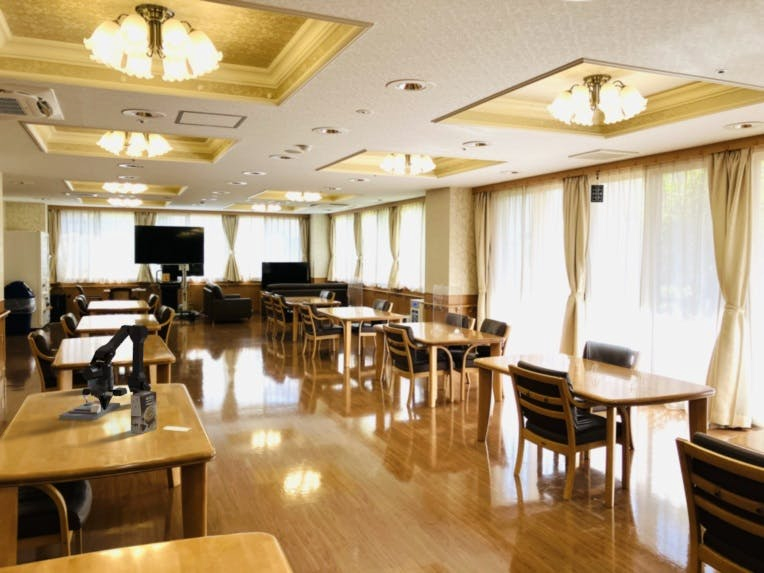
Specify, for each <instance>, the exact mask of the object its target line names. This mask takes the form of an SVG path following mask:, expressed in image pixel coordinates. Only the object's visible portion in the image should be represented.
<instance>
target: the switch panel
mask: <svg viewBox="0 0 764 573" xmlns="http://www.w3.org/2000/svg"><path fill="white" fill-rule="evenodd" d="M94 404H100V405H101V403H94V401H88V402H87V403H86V402H85V403H83V404H81V405H78V406H76V407H74V408H72V409H70V410H68V411H66V412H63V413H61V414H59V415H58V416H59V417H58V420H61V419H69V420H68V421H89V422H90V421H92V422H94V421H96V420H98V419H99V418H101V417H103V416H105V415H107V414H109V413H111V412H114V411H116V410H117V409H119V408H121V403H120V402H110V403H109V405H108V407H107V409H106V410H103V407H102V405H101V411H100V412H98V413H97V412H91V406H92V405H94Z"/></svg>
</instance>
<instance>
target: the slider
mask: <svg viewBox="0 0 764 573" xmlns="http://www.w3.org/2000/svg"><path fill="white" fill-rule="evenodd" d="M100 411H101V405H100V404H94V405H92V406H91V412H97V413H98V412H100Z"/></svg>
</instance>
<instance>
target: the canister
mask: <svg viewBox="0 0 764 573" xmlns="http://www.w3.org/2000/svg"><path fill="white" fill-rule="evenodd" d="M99 362H103V361H99ZM111 377H113V379H112V380H111V386H113V388H112V389H114V388H115V384H114V383H115V382H114V366H113V365H111ZM95 383H96V379H94V380H90V381H87V387H92V386H93V385H95Z"/></svg>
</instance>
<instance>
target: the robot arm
mask: <svg viewBox="0 0 764 573" xmlns="http://www.w3.org/2000/svg"><path fill="white" fill-rule="evenodd" d="M148 333H149V329H148V326H147V325H146V324H145V325H144V324H132V325H131V324H123V325H121V326H120V328H119V329H118V331H116V332H115V334H114V335H113V336H112V338H110V339H109V340H108V342H107V343H105V344H104V345H100V346H99V347H98V348H97V349H96V350H95V351H94V354H93V355H92V358H91V359H90V363H89V364H87V365H85V368H84V369H83V371H82V373H81V374H82V378H83V379H84V380H85V381H87V382H88V381H90V380H94V379H96V383H95V385H93V386H92V387H88V386H87V387H84V388H82V390H81V396H83V395H86V396H89V395H90V396H91V397H94V398H96V399H98V401H100V403H101V405H102V407H103V410H106V409H107V407H108V405H109V402H110V403H111V400H112V398H113V397H122V396H125V395H126V394H128V390H129V392H130V393H132V395H133V394H136V393H139V392H143V391H152V390H151V389H152V387H151V385H150V384H149V383H148V382H147V376H146V375H145V372H144V347H145V346H144V344H145V342H146V340H147V338H148V335H149V334H148ZM128 337H129V339H130V341H131V343H132V363H131V365H132V366H131V367H132V368H131V373H130V375H128V376H127V379H126V380H127V382H126V384H127V387H128V389H127V388H126V387H121V386H119V387H117V388H115V389H114V388H113V386H111V380H112V379H113V380H114V376H113V377H111V366H114V365H115V362H113V361H112V360H113V359H114V358H115V356H117V355H116V354H117V353H116V352H117V349H119V347H120V346H121V345H122V344H123V342H125V340H126V339H127V338H128ZM99 361H103V362H99ZM112 388H113V389H112Z"/></svg>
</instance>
